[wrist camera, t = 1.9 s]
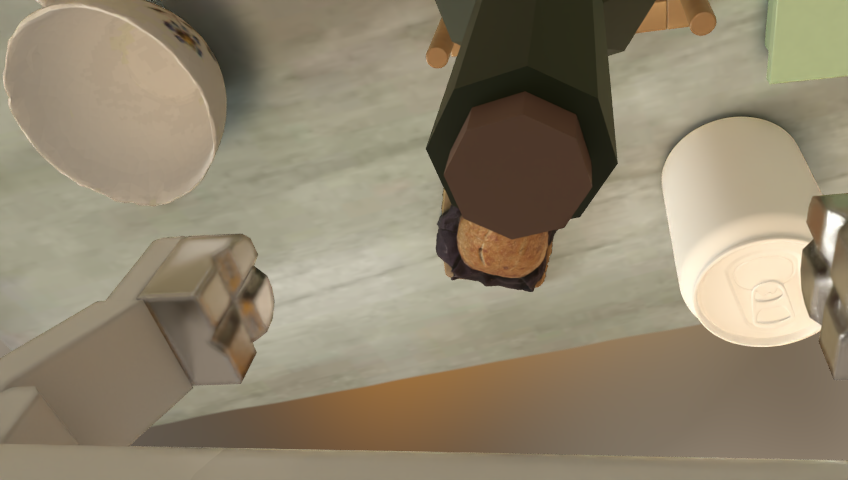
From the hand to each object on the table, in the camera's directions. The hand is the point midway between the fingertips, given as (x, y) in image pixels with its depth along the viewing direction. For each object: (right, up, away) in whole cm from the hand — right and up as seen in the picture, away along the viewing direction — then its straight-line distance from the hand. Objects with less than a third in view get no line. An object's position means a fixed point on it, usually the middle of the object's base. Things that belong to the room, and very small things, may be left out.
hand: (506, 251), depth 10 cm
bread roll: (+4, +1, +39) cm, 39 cm away
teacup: (-18, +13, +35) cm, 42 cm away
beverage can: (+18, +5, +34) cm, 38 cm away
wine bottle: (+5, +19, +25) cm, 32 cm away
